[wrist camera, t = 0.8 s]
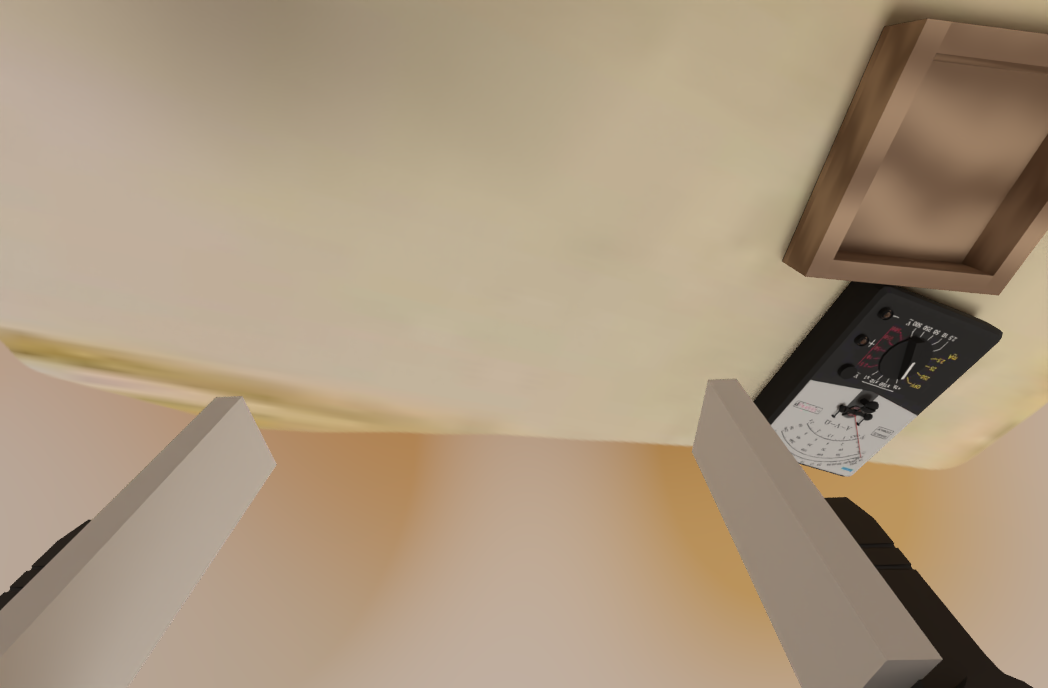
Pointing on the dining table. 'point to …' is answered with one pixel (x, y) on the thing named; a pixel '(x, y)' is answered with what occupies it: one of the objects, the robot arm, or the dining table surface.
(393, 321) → the dining table surface
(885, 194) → the tray
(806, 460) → the multimeter
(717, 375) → the dining table surface
